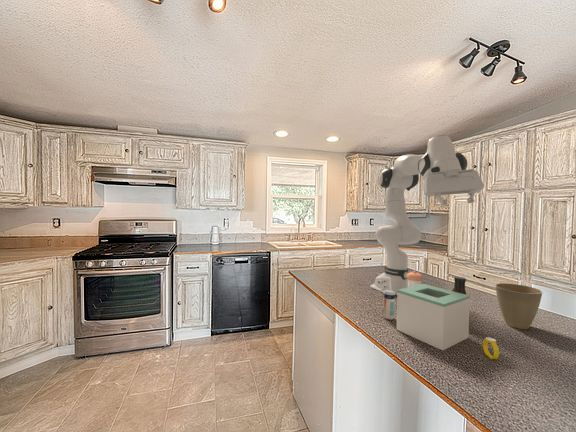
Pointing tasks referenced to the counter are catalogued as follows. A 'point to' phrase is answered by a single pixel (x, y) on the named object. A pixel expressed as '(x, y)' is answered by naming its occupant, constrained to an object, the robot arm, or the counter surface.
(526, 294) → the plant pot
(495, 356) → the watch
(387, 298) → the beer can
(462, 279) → the sauce bottle
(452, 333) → the recycling bin
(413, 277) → the pepper shaker
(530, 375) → the counter surface
